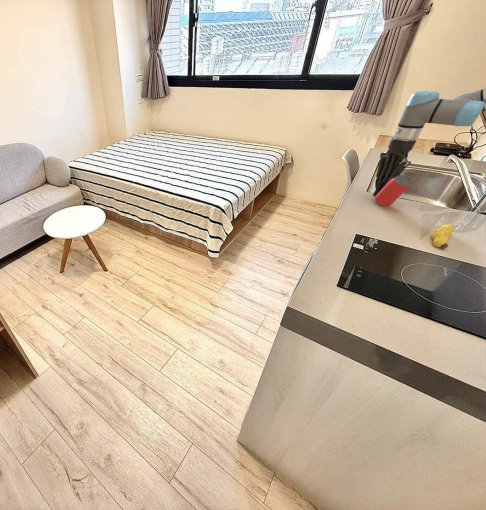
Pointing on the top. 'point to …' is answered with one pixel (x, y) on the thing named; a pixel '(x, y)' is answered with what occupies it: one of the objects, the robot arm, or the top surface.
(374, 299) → the top surface
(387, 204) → the beer can
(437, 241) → the yellow lumpy toy
